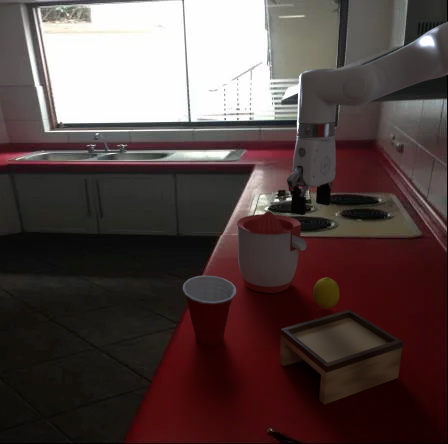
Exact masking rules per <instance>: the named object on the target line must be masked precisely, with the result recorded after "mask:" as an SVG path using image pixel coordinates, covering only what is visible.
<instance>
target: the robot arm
mask: <svg viewBox="0 0 448 444" xmlns="http://www.w3.org/2000/svg"><path fill="white" fill-rule="evenodd" d="M447 75H448V21H446V22H444V23H442V24H439V25H437V26H435V27H434V28H432V29H430V30H428V31H427V32H425V33H424V34H422V35H421V36H419V37H418V38H416V39H415V40H414V41H412V42H410V43H408V44H407V45H405V46H403V47H401V48H399V49H396V50H394V51H393V52H390V53H388V54H387V55H383V56H381V57H379V58H377V59H375V60H372V61H370V62H368V63H365V64H356V65H351V66H346V67H341V68H315V69H307V70H304V71H302V72H301V73H300V75H299V77H298V79H299V80H298V97H297V120H296V142H295V147H294V151H293V161H292V172H291V174H289V176H288V177H287V178H286V183H287V186H288V191H289V195H290V196H291V205H290V213H292V214H296V215H299V216H305V215H306V210H307V209H306V207H307V196H306V193H307V191H308V189H309V188H316V196H315V203H316V205H322V206H327V207H328V206H330V205H331V194H332V187H333V186H334V185H333V181H334V180H335V177H336V172H337V171H336V170H337V149H336V139H335V132H336V117H337V106H345V107H360V106H361V107H362V106H363V105H364V106H365V105H366V104H368V103H370V102H372V101H375V100H377V99H380V98H382V97H384V96H387V95H390V94H393V93H395V92H397V91H400V90H402V89H405V88H407V87H410V86H414V85H416V84H419V83H422V82H425V81H430V80H435V79H439V78H442V77H445V76H447Z"/></svg>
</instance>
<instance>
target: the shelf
mask: <svg viewBox="0 0 448 444" xmlns="http://www.w3.org/2000/svg"><path fill="white" fill-rule="evenodd" d="M403 344H404V341H403V340H401V339H400V338H397V337H396V336H394V335H393V334H391V333H390V332H388V331H386V330H384V329H383V328H382V327H380V326H378V325H376V324H375V323H373V322H371V321H370V320H368V319H366V318H364V317H363V316H361V315H360V314H358V313H356V312H354V311H353V310H352V309H346V310H343V311H339V312H335V313H332V314H329V315H325V316H322V317H318V318H315V319H310V320H307V321H304V322H299V323H297V324H293V325H290V326H286V327H283V328H280V343H279V345H280V347H279V364H280V365H281V366H283V367H286V366H289V365H292V364H296V363H298V362H303V361H304V362H306V363H307V364H308V365H309V366H310V367H311V368H313V369H314V370H315V371H316V372H317V373H318V374H320V384H319V397H318V400H319V402H320V403H322V404H323V405H328V404H330V403H332V402H335V401H338V400H342V399H344V398H346V397H349V396H352V395H355V394H358V393H360V392H363V391H366V390H368V389H372V388H374V387H377V386H380V385H382V384H386V383H388V382H390V381H393V380H396V379H398V378H399V373H400V367H401V358H402V352H403V346H404V345H403Z"/></svg>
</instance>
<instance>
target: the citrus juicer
mask: <svg viewBox="0 0 448 444" xmlns="http://www.w3.org/2000/svg"><path fill="white" fill-rule="evenodd" d="M236 226H237V263H238V267H239V271H240V277H241V278H242V281H243V282H244V285H245V286H246V287H247V288H249V290H252V291H254V292H259V293H266V294H268V293H269V294H277V293H280V292H283V291H285V290H288V289H289V288H290V286H291V284H292V283H293V280H294V276H295V274H296V271H297V267H298V262H299V261H298V260H299V251H305V250H306V249H307V241H306V240H305V239H304V238H302V237H301V233H302V232H301V229H302V224H301V222H300V221H299V220H298V219H296V218H294V217H291V216H288V215H282V214H276V213H275V214H274V213H273V212H272V211H269V210H268V211H266V212H265V213H262V214H259V213H257V214H251V215H247V216H243V217H241V218H239V219H238V220H237V222H236Z"/></svg>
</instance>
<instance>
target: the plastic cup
mask: <svg viewBox="0 0 448 444" xmlns="http://www.w3.org/2000/svg"><path fill="white" fill-rule="evenodd" d="M182 291H183V293H184V296H185V299H186V302H187V305H188V311H189V315H190V320H191V325H192V327H193V332H194V336H195V339H196V341H198V342H199V343H200V344H202V345H206V346H207V345H208V346H213V345H217V344H219V343H221V342H222V341H223V339H224V337H225V330H226V327H227V322H228V317H229V312H230V307H231V305H232V301H233V298H234V297H235V296H236V294H237V287H236V286H235V285H234V284H233V282H231V281H229V280H228V279H226V278H223V277H220V276H216V275H197V276H193V277H191V278H188V279H187V280H186V281H185V282H184V283H183V285H182Z"/></svg>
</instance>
